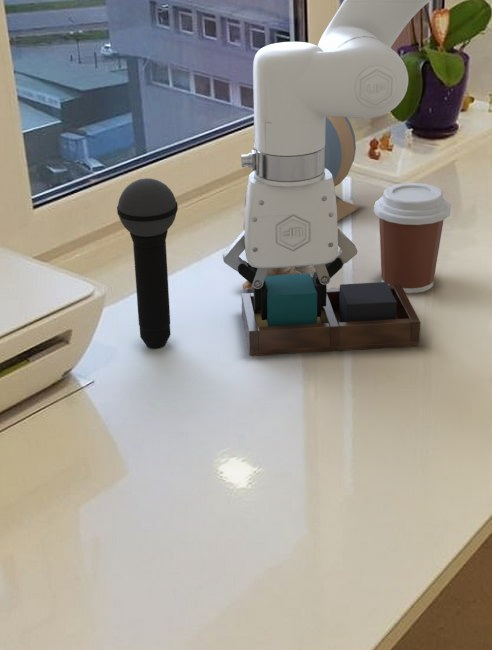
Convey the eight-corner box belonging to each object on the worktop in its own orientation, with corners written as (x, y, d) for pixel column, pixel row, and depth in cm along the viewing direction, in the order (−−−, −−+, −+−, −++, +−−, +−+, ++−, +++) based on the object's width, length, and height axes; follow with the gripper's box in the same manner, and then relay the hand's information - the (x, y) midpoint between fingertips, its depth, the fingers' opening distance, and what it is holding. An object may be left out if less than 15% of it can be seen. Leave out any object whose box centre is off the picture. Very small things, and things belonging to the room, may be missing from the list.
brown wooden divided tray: (399, 307, 128) (400, 284, 127) (418, 346, 120) (420, 321, 118) (241, 316, 129) (241, 293, 127) (249, 355, 120) (249, 331, 119)
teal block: (309, 304, 126) (310, 273, 124) (316, 324, 121) (317, 293, 119) (263, 306, 126) (262, 276, 124) (268, 327, 121) (268, 296, 119)
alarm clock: (247, 212, 160) (245, 94, 151) (283, 192, 166) (284, 79, 158) (330, 230, 151) (333, 107, 143) (365, 209, 158) (369, 90, 149)
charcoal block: (385, 312, 126) (387, 281, 124) (395, 333, 121) (396, 301, 120) (338, 314, 126) (339, 284, 125) (346, 336, 122) (347, 304, 120)
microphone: (116, 349, 123) (102, 184, 114) (149, 326, 128) (138, 166, 119) (163, 363, 120) (152, 194, 110) (195, 339, 124) (188, 175, 115)
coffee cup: (375, 298, 131) (379, 206, 125) (366, 268, 139) (370, 180, 133) (451, 296, 130) (459, 203, 125) (437, 266, 138) (444, 178, 133)
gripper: (212, 179, 112) (217, 332, 120) (376, 168, 111) (370, 323, 120) (207, 156, 118) (213, 304, 127) (362, 146, 118) (358, 295, 126)
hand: (289, 311), depth 123 cm, fingers closed on teal block, 5 cm apart
